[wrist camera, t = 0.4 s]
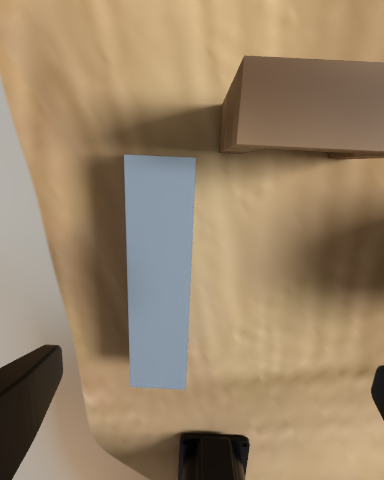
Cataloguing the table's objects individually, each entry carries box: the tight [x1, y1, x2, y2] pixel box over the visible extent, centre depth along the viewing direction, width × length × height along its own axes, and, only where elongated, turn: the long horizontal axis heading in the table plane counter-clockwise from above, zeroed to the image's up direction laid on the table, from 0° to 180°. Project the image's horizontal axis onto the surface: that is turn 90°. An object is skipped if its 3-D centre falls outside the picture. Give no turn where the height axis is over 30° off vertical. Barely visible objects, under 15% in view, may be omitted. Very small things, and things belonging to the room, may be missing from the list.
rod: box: [124, 155, 196, 389], centre depth 19 cm, size 16×4×4 cm, turn 178°
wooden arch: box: [219, 56, 384, 159], centre depth 14 cm, size 3×9×8 cm, turn 87°
